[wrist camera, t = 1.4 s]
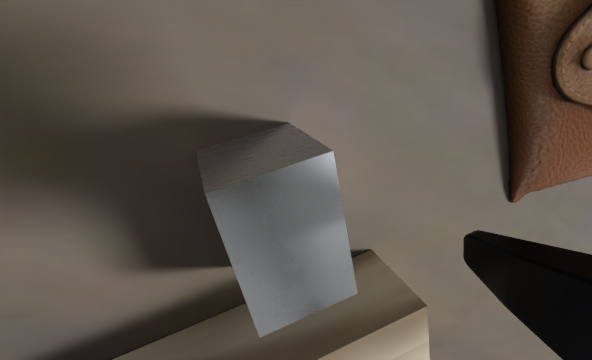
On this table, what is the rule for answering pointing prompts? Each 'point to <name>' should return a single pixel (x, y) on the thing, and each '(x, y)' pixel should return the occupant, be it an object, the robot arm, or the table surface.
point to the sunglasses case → (547, 91)
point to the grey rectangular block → (280, 223)
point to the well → (314, 328)
